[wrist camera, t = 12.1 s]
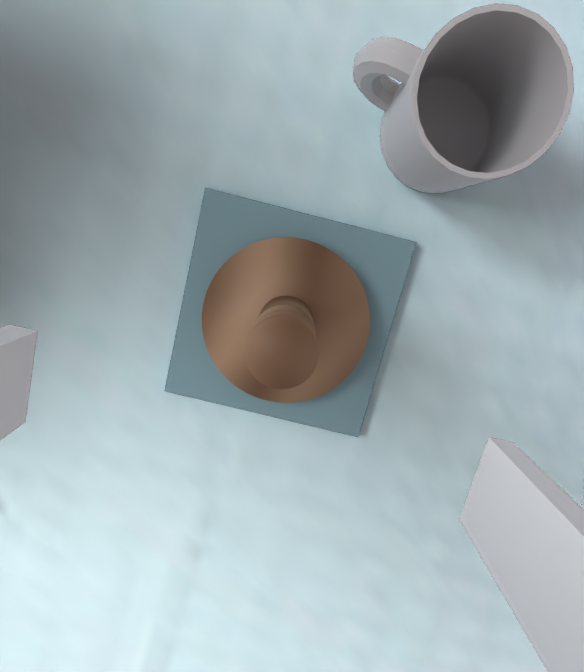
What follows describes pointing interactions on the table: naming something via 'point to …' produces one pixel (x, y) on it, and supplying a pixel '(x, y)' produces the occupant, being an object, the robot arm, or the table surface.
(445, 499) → the table surface
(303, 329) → the lid
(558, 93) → the cup
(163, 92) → the table surface
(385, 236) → the mat
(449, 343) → the table surface
